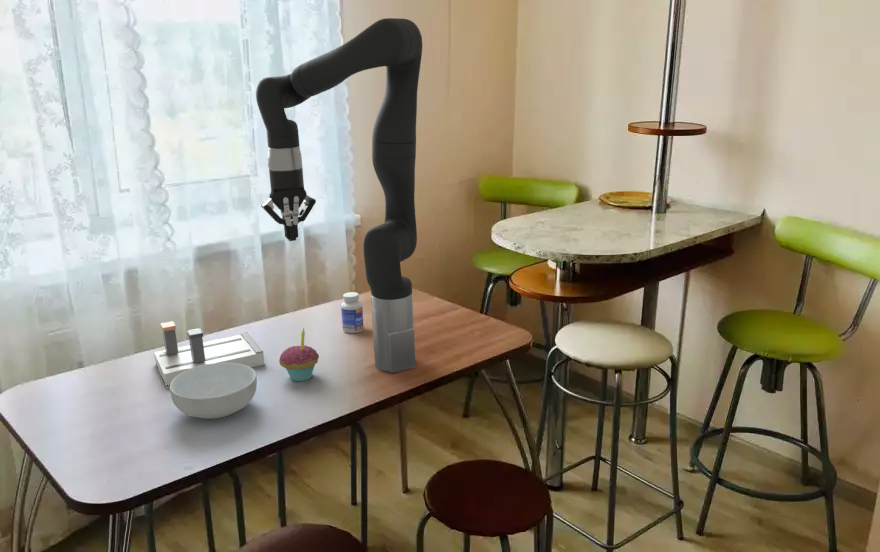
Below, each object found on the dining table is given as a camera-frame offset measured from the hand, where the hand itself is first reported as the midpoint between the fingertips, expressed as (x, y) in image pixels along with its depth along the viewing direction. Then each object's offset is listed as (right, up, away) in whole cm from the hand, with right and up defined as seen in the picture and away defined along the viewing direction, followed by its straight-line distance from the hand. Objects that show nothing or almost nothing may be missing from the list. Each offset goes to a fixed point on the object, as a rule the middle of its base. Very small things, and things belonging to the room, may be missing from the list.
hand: (292, 240), depth 173 cm
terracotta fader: (-28, -26, -2) cm, 38 cm away
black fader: (-20, -28, -7) cm, 35 cm away
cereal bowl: (-11, -36, -23) cm, 44 cm away
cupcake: (+4, -31, -9) cm, 33 cm away
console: (-19, -29, -1) cm, 35 cm away
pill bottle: (+12, -23, +18) cm, 31 cm away
